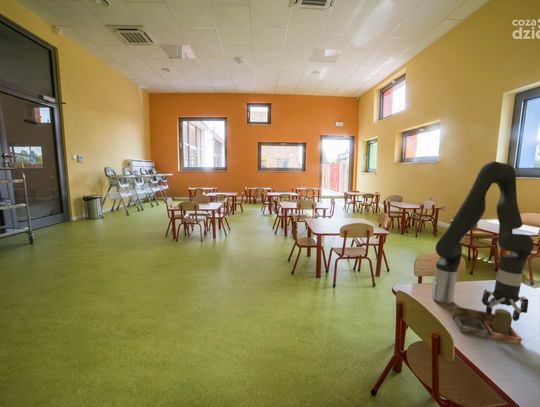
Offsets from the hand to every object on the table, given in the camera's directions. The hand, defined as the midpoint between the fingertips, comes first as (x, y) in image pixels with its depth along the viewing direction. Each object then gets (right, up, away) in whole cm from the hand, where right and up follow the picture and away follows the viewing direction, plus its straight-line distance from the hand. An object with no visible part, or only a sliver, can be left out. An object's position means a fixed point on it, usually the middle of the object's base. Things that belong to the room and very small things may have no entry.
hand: (501, 317), depth 110 cm
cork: (0, -8, +1) cm, 8 cm away
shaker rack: (-5, -7, +3) cm, 9 cm away
